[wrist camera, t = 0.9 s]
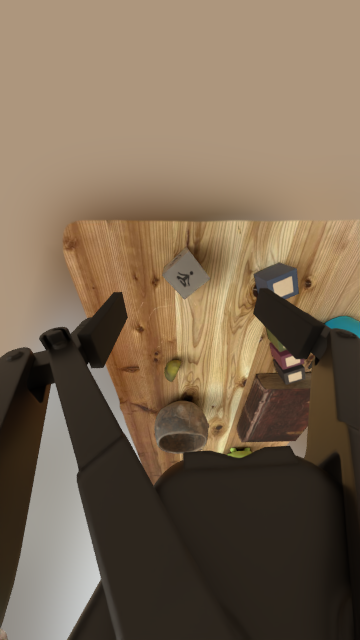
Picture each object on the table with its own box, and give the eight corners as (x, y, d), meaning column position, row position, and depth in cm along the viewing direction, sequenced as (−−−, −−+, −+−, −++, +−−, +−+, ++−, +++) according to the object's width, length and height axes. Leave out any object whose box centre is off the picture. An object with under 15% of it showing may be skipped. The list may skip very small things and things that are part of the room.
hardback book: (255, 373, 42) (264, 390, 38) (323, 371, 43) (339, 387, 38) (236, 427, 57) (241, 443, 53) (286, 425, 58) (295, 441, 53)
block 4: (291, 353, 39) (305, 367, 35) (293, 364, 41) (305, 379, 37) (273, 359, 39) (284, 374, 35) (275, 370, 42) (286, 385, 38)
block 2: (286, 315, 33) (301, 328, 29) (288, 331, 35) (303, 344, 31) (265, 324, 34) (277, 337, 30) (268, 338, 36) (280, 352, 32)
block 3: (289, 336, 36) (303, 349, 32) (291, 349, 38) (304, 363, 34) (269, 343, 37) (280, 357, 33) (272, 355, 39) (283, 370, 35)
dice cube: (163, 267, 27) (162, 275, 22) (186, 246, 25) (189, 250, 21) (182, 288, 29) (184, 299, 24) (204, 270, 27) (210, 278, 23)
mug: (362, 323, 34) (410, 348, 28) (331, 349, 38) (366, 376, 31) (325, 304, 32) (368, 326, 25) (295, 334, 35) (325, 360, 28)
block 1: (279, 262, 27) (297, 268, 23) (282, 284, 29) (299, 294, 25) (253, 273, 28) (266, 281, 24) (258, 294, 30) (271, 305, 26)
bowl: (211, 408, 50) (219, 446, 41) (172, 423, 54) (172, 460, 45) (189, 385, 44) (193, 425, 35) (146, 404, 48) (140, 444, 39)
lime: (180, 354, 37) (181, 370, 33) (184, 367, 40) (185, 385, 35) (162, 357, 38) (160, 374, 33) (167, 370, 40) (166, 388, 36)
